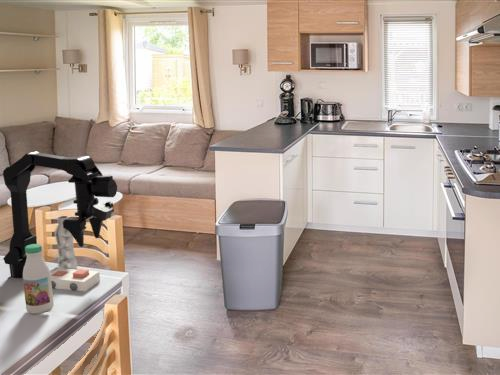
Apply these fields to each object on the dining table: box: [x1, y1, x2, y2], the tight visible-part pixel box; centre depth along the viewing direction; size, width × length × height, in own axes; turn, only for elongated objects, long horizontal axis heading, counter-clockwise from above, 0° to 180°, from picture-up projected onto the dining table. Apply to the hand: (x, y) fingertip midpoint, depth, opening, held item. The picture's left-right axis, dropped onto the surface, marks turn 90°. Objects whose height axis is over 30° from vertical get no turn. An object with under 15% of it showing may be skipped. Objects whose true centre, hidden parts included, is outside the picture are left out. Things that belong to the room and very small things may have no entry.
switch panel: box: [50, 266, 101, 292], centre depth 181 cm, size 17×9×4 cm, turn 74°
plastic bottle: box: [54, 215, 78, 270], centre depth 193 cm, size 6×7×20 cm
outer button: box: [73, 268, 90, 278], centre depth 180 cm, size 4×4×2 cm
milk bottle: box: [22, 243, 55, 315], centre depth 162 cm, size 8×8×20 cm
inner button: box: [52, 271, 68, 276], centre depth 182 cm, size 4×4×2 cm
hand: (89, 242), depth 179 cm, fingers open, 9 cm apart
